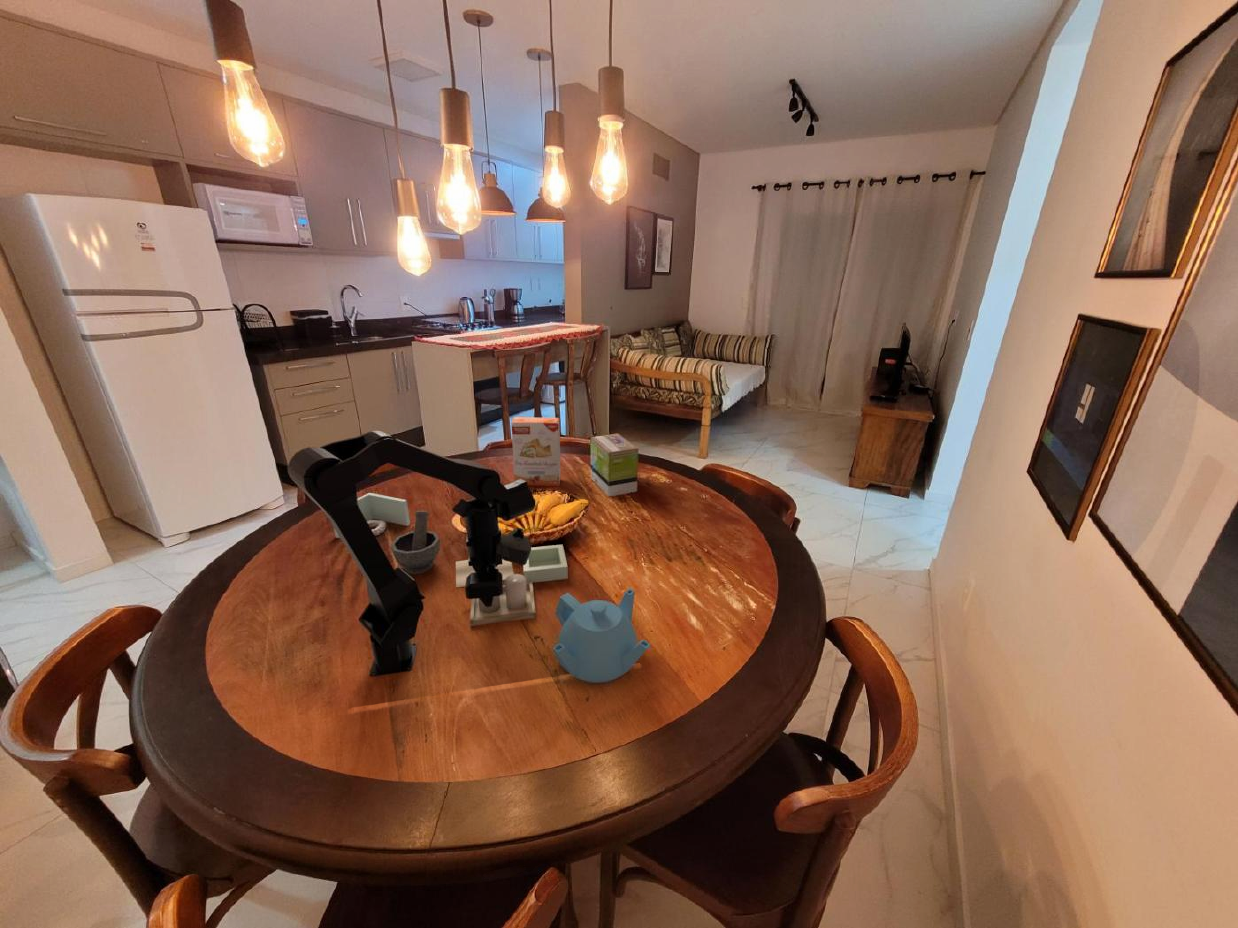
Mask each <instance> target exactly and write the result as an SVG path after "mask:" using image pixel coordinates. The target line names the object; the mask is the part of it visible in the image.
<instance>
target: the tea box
mask: <svg viewBox="0 0 1238 928" xmlns="http://www.w3.org/2000/svg"><path fill="white" fill-rule="evenodd" d="M638 466H639V447H638V446H636V445H635V444H633V443H632V442H630V441H629V440H628V439H626V438H625V437H623V436H622V435H621V434H619V433H612V434H606V435H598V436H597V435H596V436H590V478H591V480H592V481H594V483H595V484H596V485H597V486H598V487H599V488H600V489H601V490H602V491H603V492H604V494H605V495H607V497H616V496H621V495H625V494H632V493H637V491H638V471H639V470H638V469H639V467H638ZM631 492H632V493H631Z"/></svg>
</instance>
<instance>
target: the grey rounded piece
mask: <svg viewBox="0 0 1238 928" xmlns="http://www.w3.org/2000/svg"><path fill="white" fill-rule="evenodd" d="M478 601H479V609H480V611H481V612H483V613H492V612H495V611H497V610H498V609H499V608H500V596H494V597H493V601H492V606H491V607H485V605H484V604H483V603H482V601H481V600H480V599H479V598H478Z"/></svg>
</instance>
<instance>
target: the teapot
mask: <svg viewBox="0 0 1238 928" xmlns="http://www.w3.org/2000/svg"><path fill="white" fill-rule="evenodd" d="M635 593H636V590H635V589H632V588H628V589H627V590H626V591H624V595H623V596H622V597H621V600H620V601H619V602H620V603H619V604H618V606H617V604H615V603H612V602H610V601H609V600H602V599H601V600H600V599H593V600H588V601H586V602H583V603H581V602H579V601H578V600H577V599H576V598H575V597H574V596H573V595H572V594H570V593H569V592H566V593H565V594H563V595H561V596H560V597H559V600H558V603H557V607H556V608H555V609H556V610H555V612H554V614H555V616H556V618H557V619H558V622H559V624H560V625H561V630H560V632H559V636H558V638H557V644H556V645H555V646H554V647H552V651H553V653H554V656H555V658H556V659H557V661H558V663H559V665H560V667H562V668H563V669H564V670H565V671H566V672H567V673H568V674H570V675H571V676H572V677H573V678H576V679H578V680H580V681H583V682H586V683H591V684H603V683H608V682H611V681H614V680H616V679H618V678H620V677H622V676H623V675H625V674H627V672H628V671H629V670H631V668H633V666H634V665H635V664H636V663H637V662H638V660H639V659H640V658H641V657H642V656H643V655H644V654H645V652H646V651H647V650H648V649H649V648H650V647H651V645H652V644H651V643H650V642H648V641H646V640H645V639H644V638H643V639H641V640H640V641H639V640H638V637H637V632H636V630H635V628H634V626H633V623H632V621H633V613H634V603H635ZM638 641H639V642H638Z"/></svg>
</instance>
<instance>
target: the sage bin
mask: <svg viewBox="0 0 1238 928" xmlns="http://www.w3.org/2000/svg"><path fill="white" fill-rule="evenodd" d="M563 545H564V544H556V545H554V544H552V545H543V546H542V545H541V546H536V547H535V546H534V547H532V546H531V552H530V555H529V557H528V560H527V563H526V564H525V565H522V568H523V576H524V577H525V578H526V583H528V582H532V584H533V583H543V582H550V581H558V580H559V581H561V580H568V579H569V575H568V574H569V573H568V572H569V571H568V563H567V558H566V554H565V549H564V546H563Z"/></svg>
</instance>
